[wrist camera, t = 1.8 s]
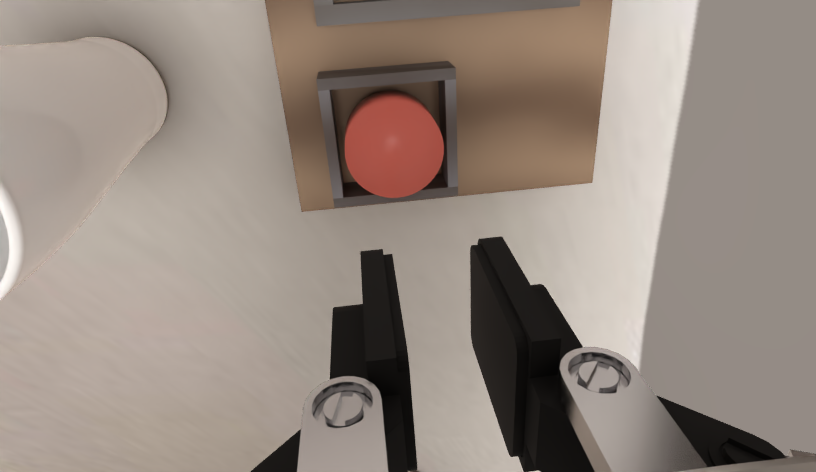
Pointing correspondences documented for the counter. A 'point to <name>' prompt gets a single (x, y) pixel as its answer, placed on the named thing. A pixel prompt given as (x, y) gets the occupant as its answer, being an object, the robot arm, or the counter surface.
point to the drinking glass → (66, 139)
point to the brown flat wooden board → (445, 88)
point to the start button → (393, 144)
